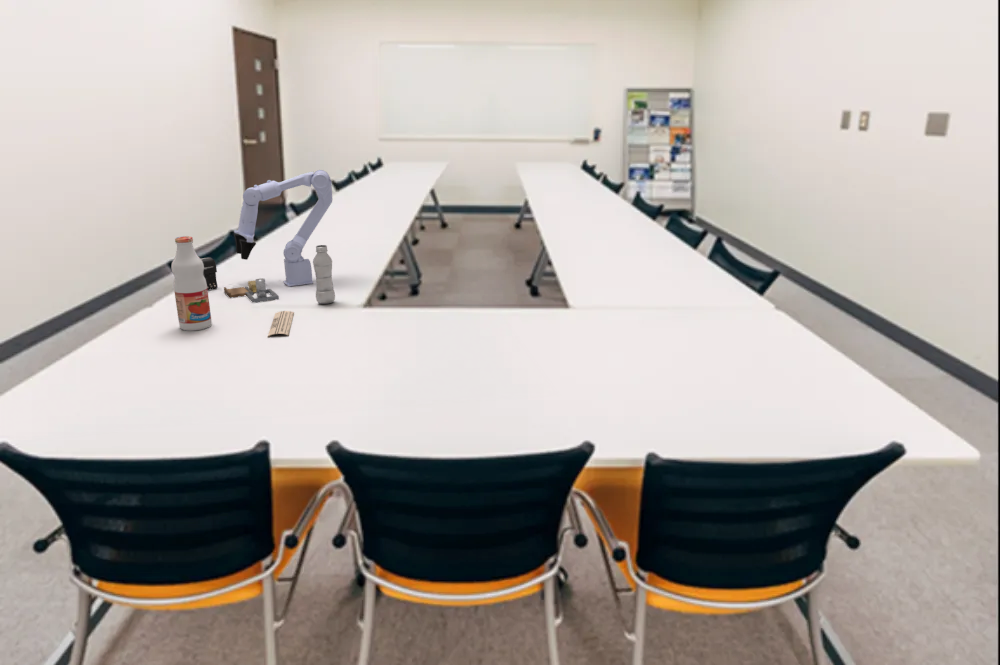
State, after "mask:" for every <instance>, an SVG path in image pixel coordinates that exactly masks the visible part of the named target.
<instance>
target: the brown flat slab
mask: <svg viewBox="0 0 1000 665" xmlns="http://www.w3.org/2000/svg"><path fill="white" fill-rule="evenodd" d="M223 292H224V293H225V295H226V294H227V295H228V296H229V297H233V298H238V296H241V297H245V296H244V295H246V294H245V292H249V291H248V290H247V289H245V287H244V286H241V287H240V286H239V287H233V288H227V287H226V286H225V287H223ZM227 295H226V296H227ZM228 296H227V297H228ZM229 297H228V298H229Z"/></svg>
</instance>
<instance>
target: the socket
mask: <svg viewBox="0 0 1000 665" xmlns="http://www.w3.org/2000/svg"><path fill="white" fill-rule="evenodd" d="M244 288H245V289H247V290H248V291H249V292H245V294H246V296H247V297H248V298H249V299H250V300H251V301H252V302H256V303H261V302H260V301H263V302H268V301H267V300H270V301H275V300H274V299H277V300H280V296H279V295H278V293H276V292H275V291H274V290H272V289H271V288H266V294H269V293H270V294H271V295H272V296H271V295H270V294H269V295H270V296H269V295H268V296H267V297H262V298H257V297H254V292H253V291H251V290H250V289H249V286H245V287H244ZM246 296H245V297H246ZM247 297H246V298H247ZM248 298H247V299H248ZM249 299H248V300H249ZM250 300H249V301H250ZM251 301H250V302H251Z"/></svg>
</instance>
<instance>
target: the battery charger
mask: <svg viewBox="0 0 1000 665" xmlns="http://www.w3.org/2000/svg"><path fill="white" fill-rule="evenodd" d="M200 259H201V260H202V262H203V264H204V271H203V275H204V277H205V279H206V283H207V290H208V291H210V289H211V290H215V289H218V282H217V273H218V271H217V269H218V268H217V263H216V260H215V259H213V258H212V257H204V258H200Z"/></svg>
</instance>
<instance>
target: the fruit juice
mask: <svg viewBox="0 0 1000 665" xmlns="http://www.w3.org/2000/svg"><path fill="white" fill-rule="evenodd" d="M174 242H175V245H176V250H175V252H176V253H175V257H174V259H173V261H172V262H171V271H172V274H173V277H174V279H173V292H174V297H175V306H176V310H177V318H178V325H179V328H180V329H181V330H183V331H188V332H189V331H194V332H195V331H200V330H205V329H207V328H210V327H211V326H212V320H213V319H212V315H211V308H210V306H211V305H210V298H209V290H207V283H206V279H205V277H204V275H203V271H204V264H203V262H202V260H201V259H202V258H200V257H199V256H198V254H197V252H196V249H195V248H194V245H193V243H194V239H193V237H192V236H188V235H186V236H185V235H183V236H178V237H175V238H174Z"/></svg>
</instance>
